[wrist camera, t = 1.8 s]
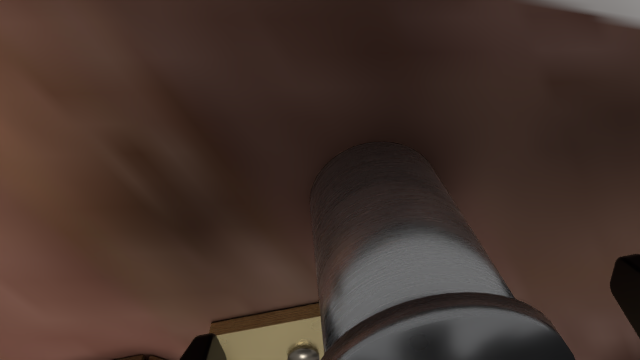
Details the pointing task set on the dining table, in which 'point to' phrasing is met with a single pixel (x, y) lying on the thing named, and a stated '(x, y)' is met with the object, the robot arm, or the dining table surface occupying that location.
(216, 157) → the dining table surface
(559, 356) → the steel pin
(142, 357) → the octagon ring with plates
